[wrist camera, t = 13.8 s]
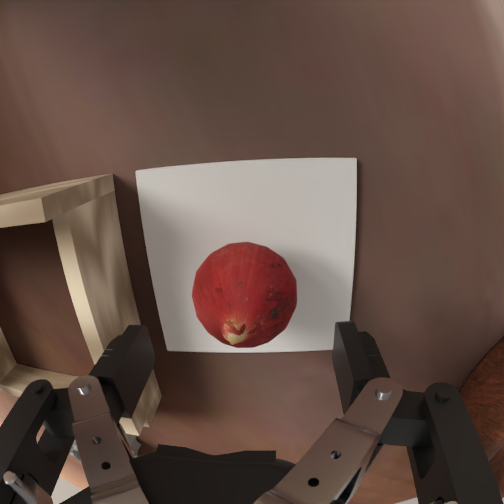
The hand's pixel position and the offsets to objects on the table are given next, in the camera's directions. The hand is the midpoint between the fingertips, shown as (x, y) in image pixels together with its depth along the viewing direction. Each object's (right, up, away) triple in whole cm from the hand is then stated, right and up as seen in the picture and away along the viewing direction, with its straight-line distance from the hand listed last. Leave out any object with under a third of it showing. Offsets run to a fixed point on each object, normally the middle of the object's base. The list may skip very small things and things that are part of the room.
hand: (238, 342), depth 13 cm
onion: (0, +3, +9) cm, 9 cm away
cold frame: (-18, -1, +11) cm, 22 cm away
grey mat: (0, +3, +9) cm, 9 cm away
